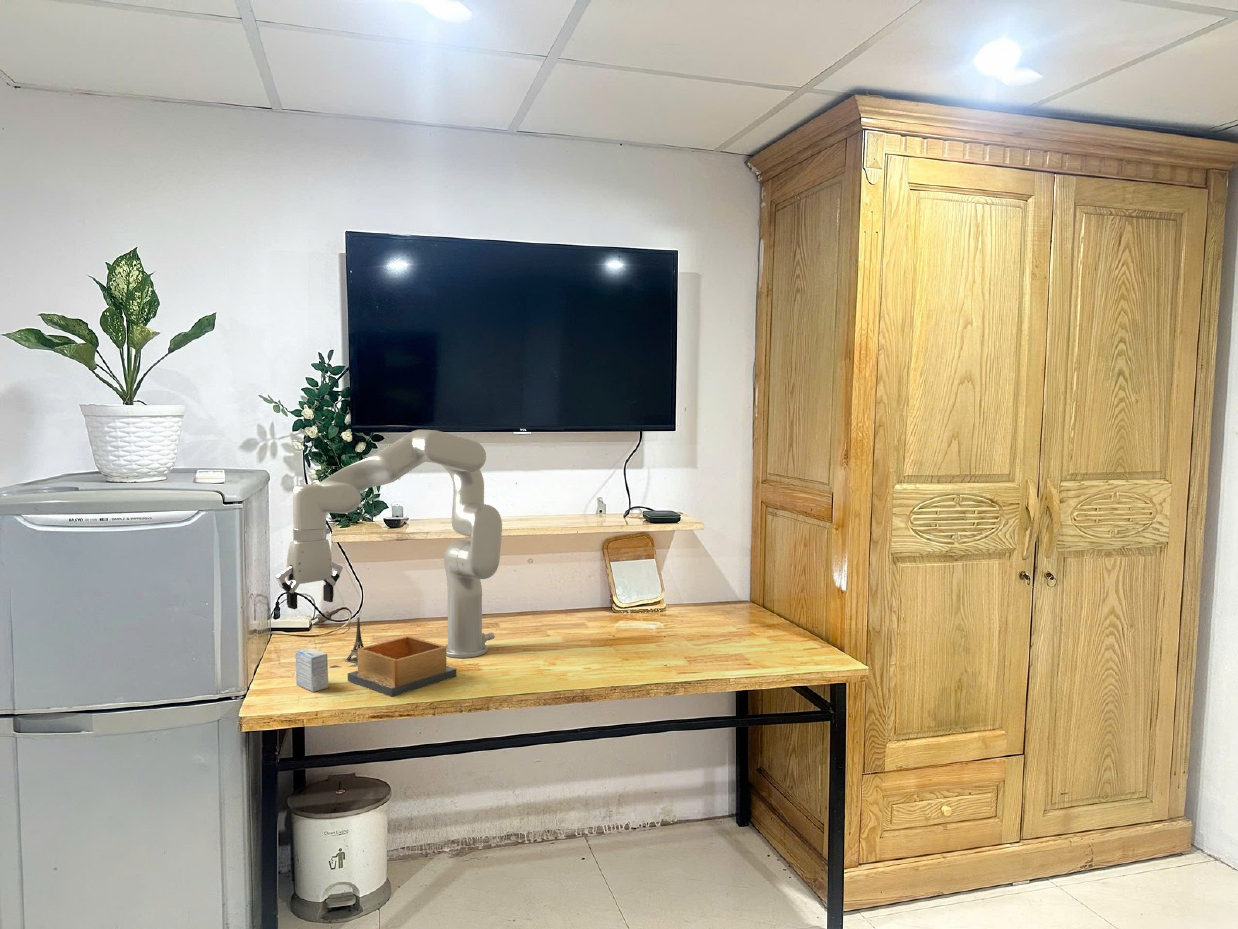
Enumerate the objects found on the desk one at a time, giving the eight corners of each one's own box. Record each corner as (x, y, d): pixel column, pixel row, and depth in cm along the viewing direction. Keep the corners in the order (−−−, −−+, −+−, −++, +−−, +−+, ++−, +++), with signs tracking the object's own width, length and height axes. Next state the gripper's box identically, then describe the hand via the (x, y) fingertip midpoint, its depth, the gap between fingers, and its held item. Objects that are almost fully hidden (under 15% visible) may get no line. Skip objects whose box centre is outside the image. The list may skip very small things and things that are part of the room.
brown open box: (412, 662, 232) (411, 633, 231) (456, 676, 220) (456, 645, 220) (347, 681, 216) (347, 650, 215) (391, 696, 205) (391, 664, 204)
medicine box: (328, 688, 211) (328, 653, 210) (311, 692, 207) (311, 657, 207) (312, 681, 216) (312, 647, 215) (295, 685, 213) (295, 651, 212)
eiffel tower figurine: (327, 670, 226) (327, 620, 225) (330, 659, 236) (329, 611, 235) (386, 666, 230) (386, 617, 229) (386, 655, 240) (386, 608, 239)
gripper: (332, 530, 218) (333, 596, 219) (268, 537, 204) (269, 608, 205) (349, 533, 213) (350, 601, 214) (285, 541, 200) (286, 613, 201)
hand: (310, 604), depth 210 cm, fingers open, 9 cm apart
